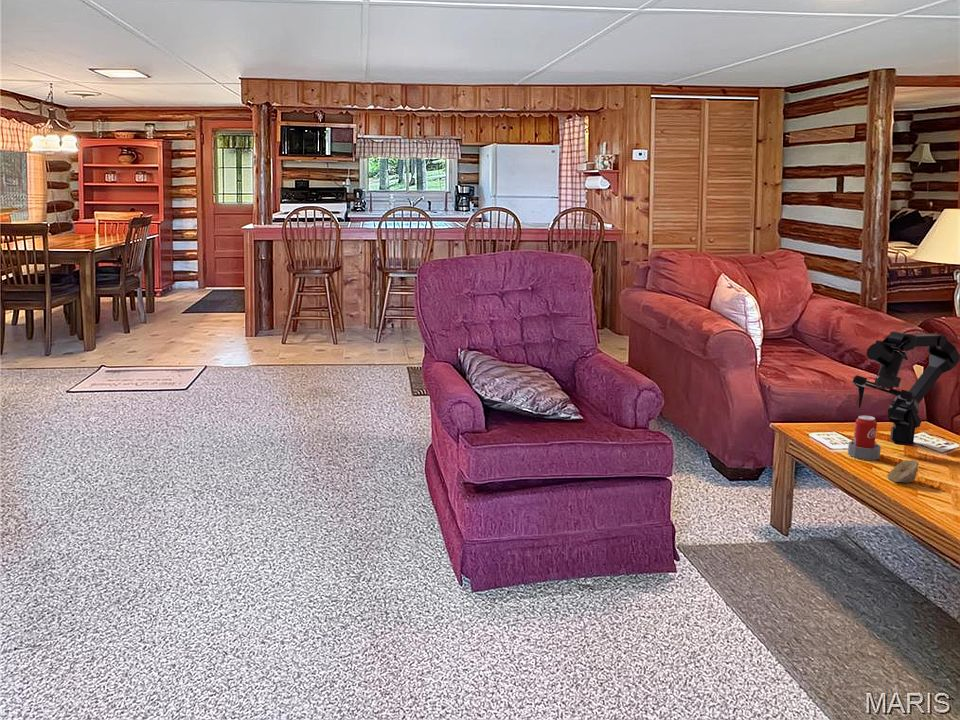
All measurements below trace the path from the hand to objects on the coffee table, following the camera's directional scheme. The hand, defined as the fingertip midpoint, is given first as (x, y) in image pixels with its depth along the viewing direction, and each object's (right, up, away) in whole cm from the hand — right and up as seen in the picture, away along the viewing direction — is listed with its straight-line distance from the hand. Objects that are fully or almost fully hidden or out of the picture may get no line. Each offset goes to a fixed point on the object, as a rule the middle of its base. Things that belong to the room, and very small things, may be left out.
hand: (873, 413), depth 297 cm
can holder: (-7, -13, -8) cm, 17 cm away
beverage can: (-7, -13, -8) cm, 16 cm away
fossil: (-6, -19, -32) cm, 37 cm away
